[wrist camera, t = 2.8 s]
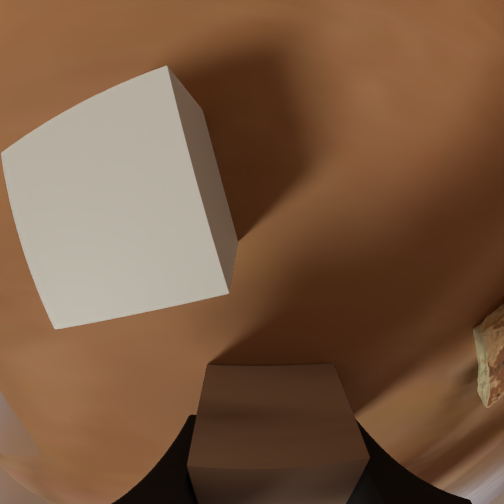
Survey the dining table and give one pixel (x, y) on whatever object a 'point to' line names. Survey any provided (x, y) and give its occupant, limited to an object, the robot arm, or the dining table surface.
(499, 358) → the shard
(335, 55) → the dining table surface
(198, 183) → the white cube
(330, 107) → the dining table surface
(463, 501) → the robot arm
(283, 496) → the walnut block
